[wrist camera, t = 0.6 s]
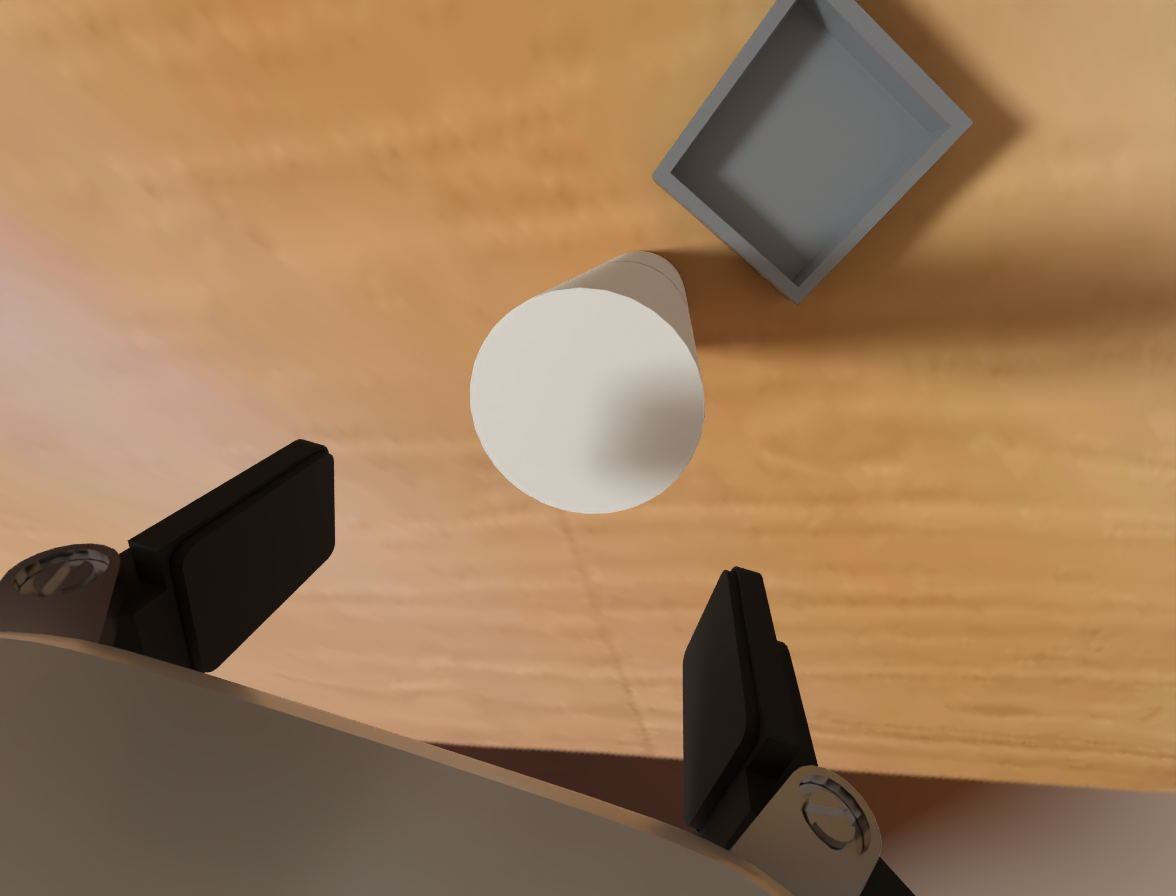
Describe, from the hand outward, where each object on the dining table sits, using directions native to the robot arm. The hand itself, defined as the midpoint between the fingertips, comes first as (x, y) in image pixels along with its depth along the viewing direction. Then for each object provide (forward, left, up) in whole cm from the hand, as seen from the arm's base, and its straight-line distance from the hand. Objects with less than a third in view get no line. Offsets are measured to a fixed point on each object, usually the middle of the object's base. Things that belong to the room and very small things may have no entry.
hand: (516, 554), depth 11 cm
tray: (-13, +8, -30) cm, 33 cm away
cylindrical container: (-2, 0, -30) cm, 30 cm away
